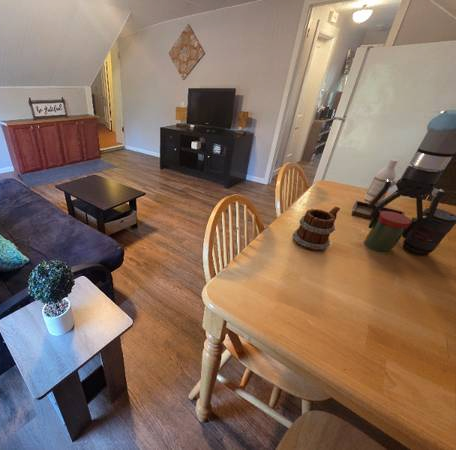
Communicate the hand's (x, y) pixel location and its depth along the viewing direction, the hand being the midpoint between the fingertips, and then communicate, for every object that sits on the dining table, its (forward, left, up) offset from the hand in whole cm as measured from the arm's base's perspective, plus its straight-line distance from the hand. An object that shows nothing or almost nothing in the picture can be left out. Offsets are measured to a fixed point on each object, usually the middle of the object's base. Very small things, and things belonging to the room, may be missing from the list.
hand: (386, 231), depth 84 cm
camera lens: (-10, -5, -7) cm, 13 cm away
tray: (+1, -28, -6) cm, 29 cm away
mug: (+19, +12, -7) cm, 23 cm away
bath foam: (+3, -46, -7) cm, 47 cm away
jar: (0, 0, -6) cm, 6 cm away
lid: (0, 0, +5) cm, 5 cm away
